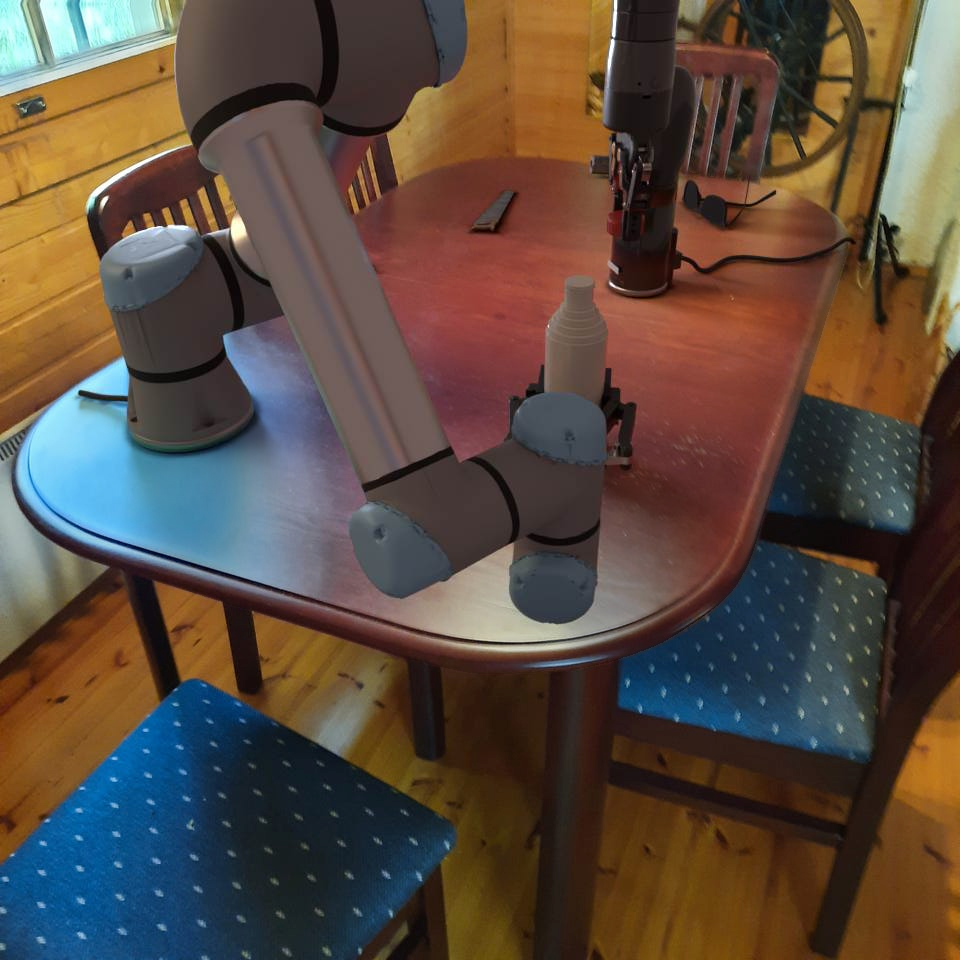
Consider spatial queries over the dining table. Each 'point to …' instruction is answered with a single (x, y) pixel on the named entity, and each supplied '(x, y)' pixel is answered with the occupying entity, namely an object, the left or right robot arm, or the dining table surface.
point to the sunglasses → (714, 204)
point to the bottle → (577, 344)
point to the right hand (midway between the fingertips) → (625, 232)
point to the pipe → (599, 164)
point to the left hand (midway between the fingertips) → (575, 376)
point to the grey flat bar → (493, 213)
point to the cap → (618, 223)
